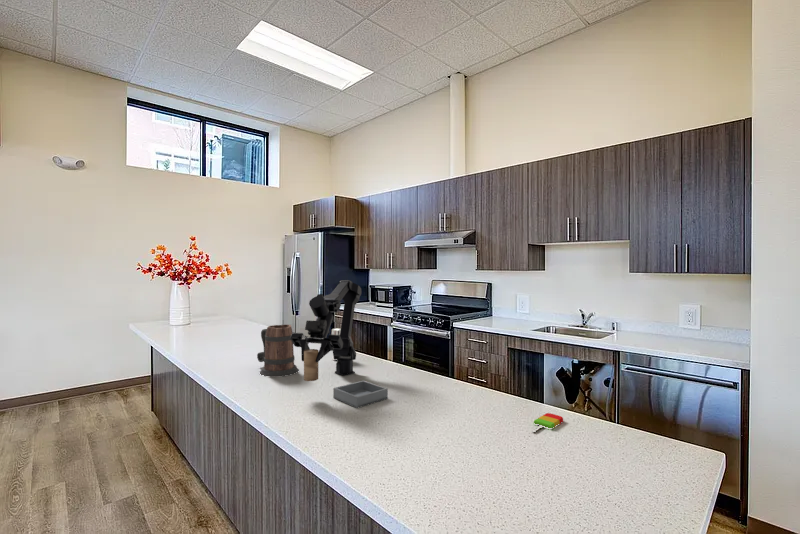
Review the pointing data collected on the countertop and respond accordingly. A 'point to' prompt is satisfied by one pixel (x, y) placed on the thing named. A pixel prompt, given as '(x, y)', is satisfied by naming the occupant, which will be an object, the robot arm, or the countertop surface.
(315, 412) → the countertop surface
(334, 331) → the beer glass
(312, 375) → the walnut cylinder
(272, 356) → the tankard
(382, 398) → the tote
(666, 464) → the countertop surface
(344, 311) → the robot arm
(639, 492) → the countertop surface
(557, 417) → the popsicle
